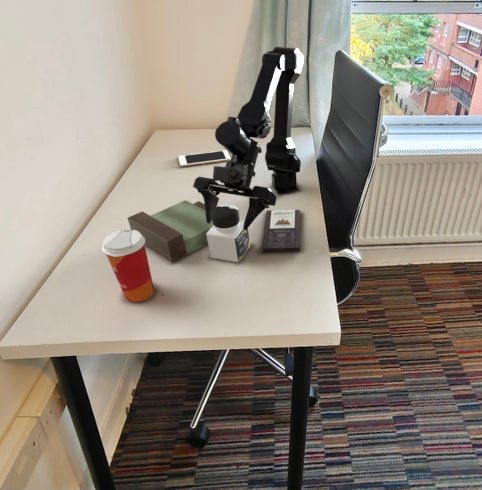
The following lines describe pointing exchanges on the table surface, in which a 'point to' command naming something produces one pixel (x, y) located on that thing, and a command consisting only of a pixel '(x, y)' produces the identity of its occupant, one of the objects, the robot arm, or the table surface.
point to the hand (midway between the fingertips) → (226, 226)
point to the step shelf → (173, 229)
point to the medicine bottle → (227, 234)
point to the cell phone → (203, 158)
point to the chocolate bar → (282, 231)
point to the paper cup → (129, 264)
